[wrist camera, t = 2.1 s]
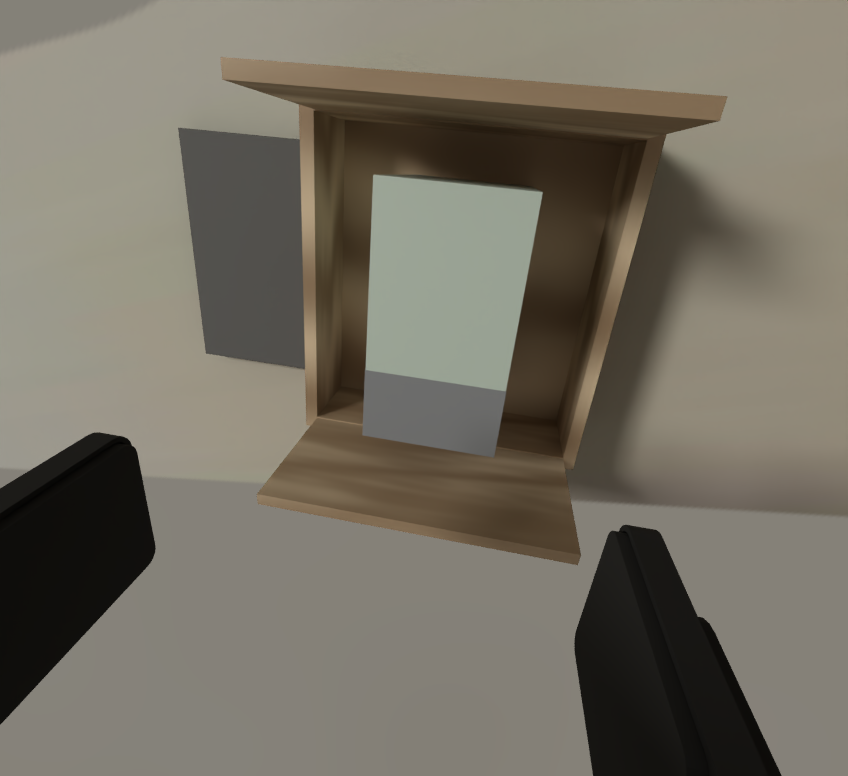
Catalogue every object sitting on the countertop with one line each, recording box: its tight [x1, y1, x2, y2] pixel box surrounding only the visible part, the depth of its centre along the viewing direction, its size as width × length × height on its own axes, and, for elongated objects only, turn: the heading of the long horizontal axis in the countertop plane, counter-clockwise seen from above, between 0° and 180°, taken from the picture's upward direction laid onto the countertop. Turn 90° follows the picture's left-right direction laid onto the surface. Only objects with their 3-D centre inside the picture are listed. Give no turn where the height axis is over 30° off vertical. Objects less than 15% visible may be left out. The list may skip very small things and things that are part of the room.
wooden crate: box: [221, 57, 727, 565], centre depth 20 cm, size 15×14×11 cm
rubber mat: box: [178, 128, 305, 369], centre depth 26 cm, size 12×7×1 cm, turn 175°
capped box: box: [362, 175, 543, 458], centre depth 21 cm, size 10×6×8 cm, turn 175°
